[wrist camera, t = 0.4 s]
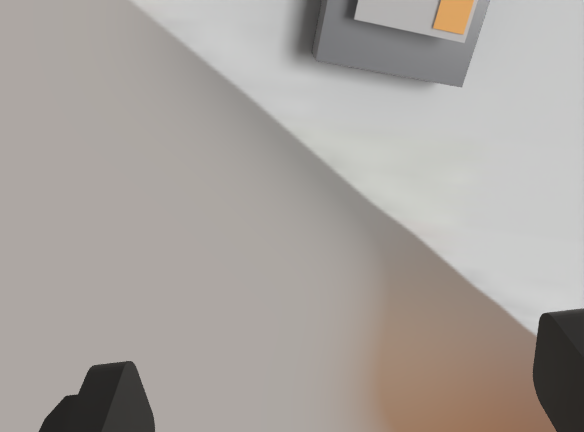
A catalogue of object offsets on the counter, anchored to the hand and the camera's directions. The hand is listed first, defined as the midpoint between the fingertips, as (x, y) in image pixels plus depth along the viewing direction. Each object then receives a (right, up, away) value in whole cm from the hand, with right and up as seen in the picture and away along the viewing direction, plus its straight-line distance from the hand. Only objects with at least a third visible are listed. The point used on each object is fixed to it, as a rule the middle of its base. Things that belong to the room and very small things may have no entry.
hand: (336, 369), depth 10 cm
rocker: (+6, +15, +18) cm, 24 cm away
